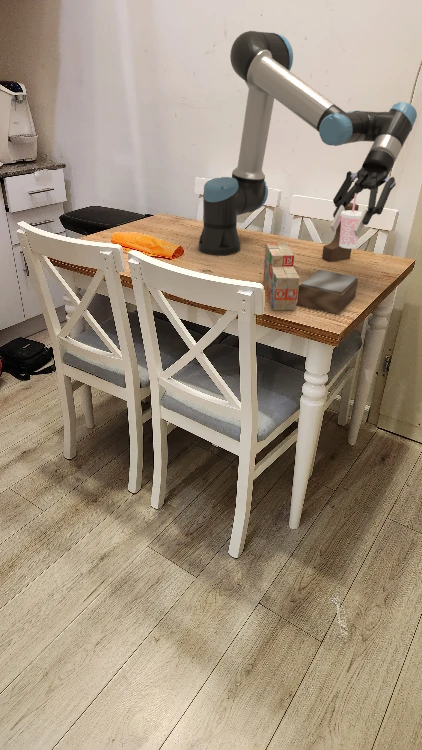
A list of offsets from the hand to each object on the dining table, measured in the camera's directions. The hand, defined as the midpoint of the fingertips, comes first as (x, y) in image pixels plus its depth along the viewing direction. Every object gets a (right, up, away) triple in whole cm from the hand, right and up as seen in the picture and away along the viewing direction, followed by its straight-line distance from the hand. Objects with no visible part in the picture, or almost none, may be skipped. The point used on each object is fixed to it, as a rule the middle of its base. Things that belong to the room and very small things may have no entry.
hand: (344, 231), depth 130 cm
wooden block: (+7, +1, +37) cm, 38 cm away
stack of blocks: (-16, -16, +9) cm, 25 cm away
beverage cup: (+2, -3, +5) cm, 6 cm away
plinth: (-3, -18, +6) cm, 19 cm away
